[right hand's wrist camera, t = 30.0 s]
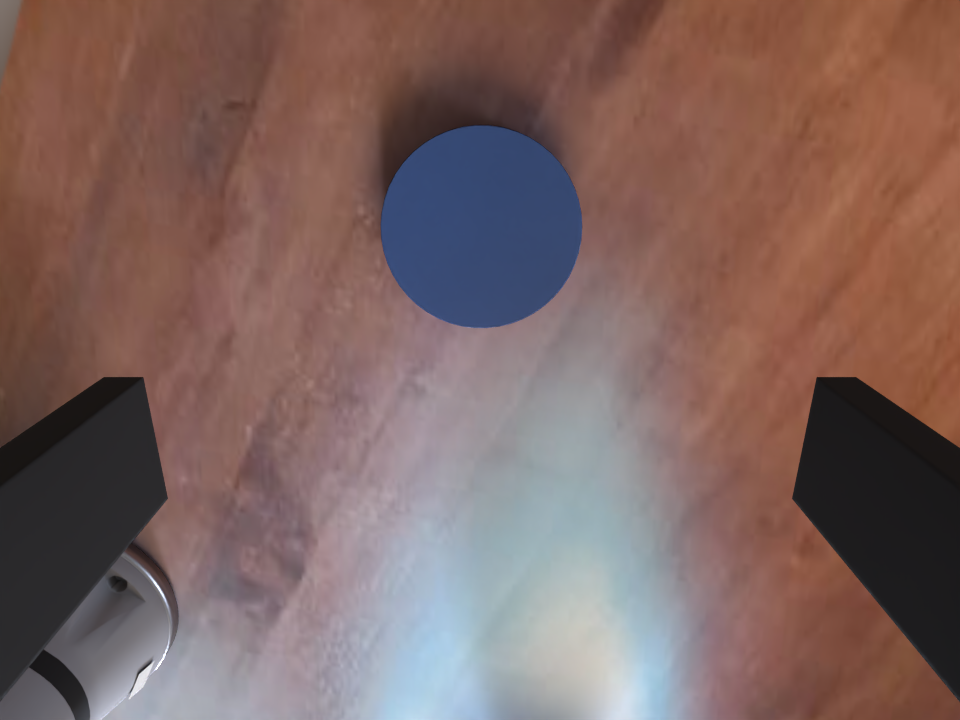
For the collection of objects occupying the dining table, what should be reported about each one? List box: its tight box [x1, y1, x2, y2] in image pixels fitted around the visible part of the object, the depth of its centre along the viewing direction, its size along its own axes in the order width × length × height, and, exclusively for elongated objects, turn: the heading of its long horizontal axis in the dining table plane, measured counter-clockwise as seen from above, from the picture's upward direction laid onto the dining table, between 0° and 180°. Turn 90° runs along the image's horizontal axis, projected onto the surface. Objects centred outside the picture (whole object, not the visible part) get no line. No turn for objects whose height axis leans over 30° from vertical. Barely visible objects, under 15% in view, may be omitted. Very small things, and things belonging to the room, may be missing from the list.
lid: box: [381, 125, 582, 328], centre depth 37 cm, size 11×11×2 cm
